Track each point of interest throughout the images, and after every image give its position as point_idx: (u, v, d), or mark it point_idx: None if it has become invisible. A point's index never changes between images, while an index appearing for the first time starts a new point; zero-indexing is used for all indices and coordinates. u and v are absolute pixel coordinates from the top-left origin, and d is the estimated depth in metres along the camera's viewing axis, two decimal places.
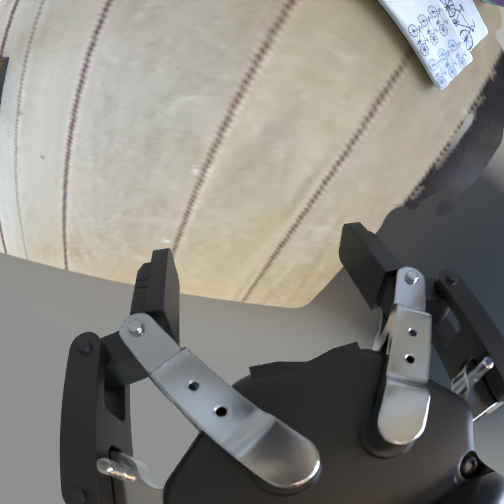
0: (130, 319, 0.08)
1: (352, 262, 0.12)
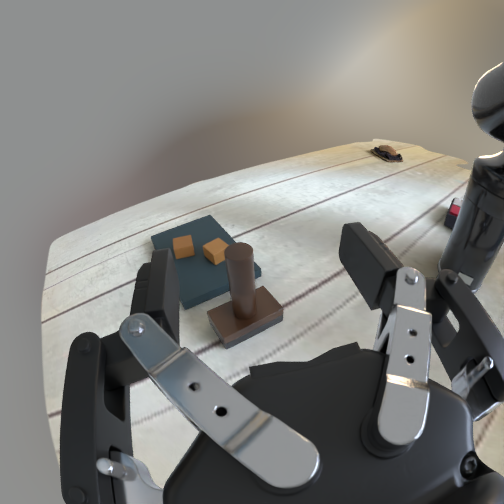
0: (130, 319, 0.08)
1: (352, 262, 0.12)
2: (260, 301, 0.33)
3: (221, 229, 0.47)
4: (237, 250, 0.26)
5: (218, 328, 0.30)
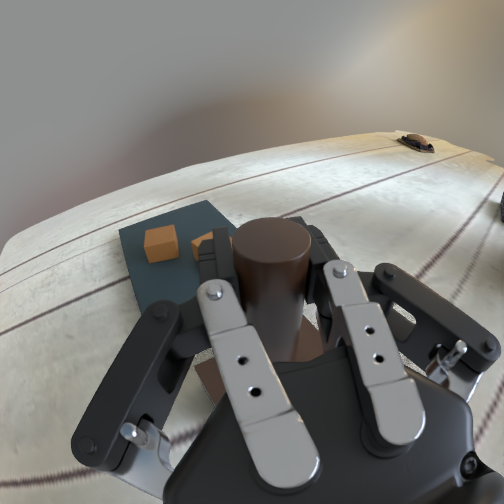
0: (207, 285, 0.09)
1: None
2: (299, 345, 0.16)
3: (223, 219, 0.30)
4: (268, 234, 0.10)
5: None
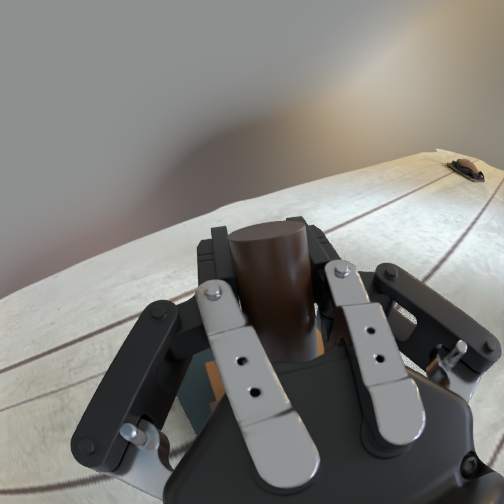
0: (205, 286, 0.09)
1: None
2: None
3: None
4: (263, 228, 0.10)
5: None
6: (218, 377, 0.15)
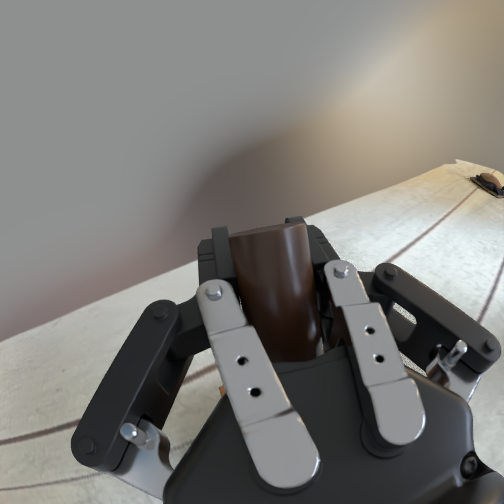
0: (206, 285, 0.09)
1: None
2: None
3: None
4: (265, 228, 0.10)
5: None
6: None
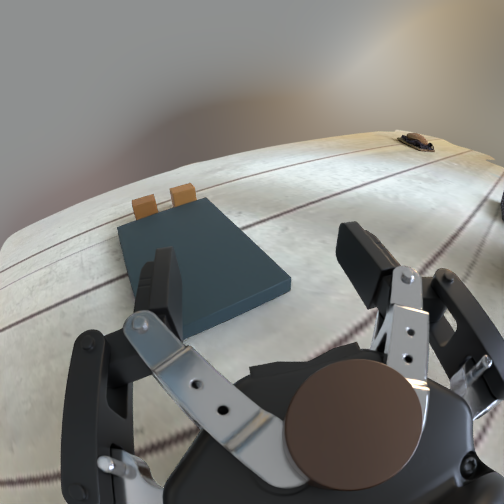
0: (134, 316, 0.08)
1: (349, 261, 0.12)
2: None
3: (222, 216, 0.30)
4: (357, 413, 0.04)
5: None
6: None
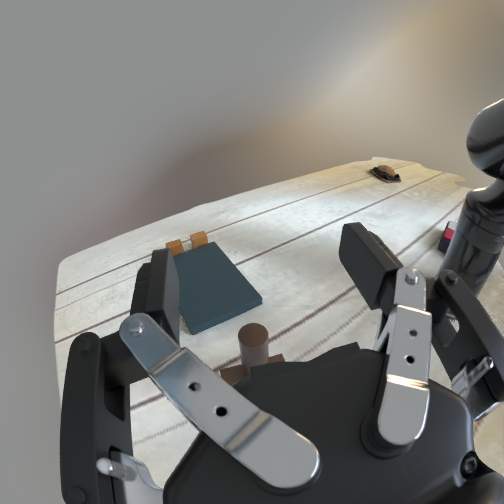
0: (130, 319, 0.08)
1: (352, 262, 0.12)
2: None
3: (225, 257, 0.50)
4: (252, 333, 0.25)
5: None
6: None
